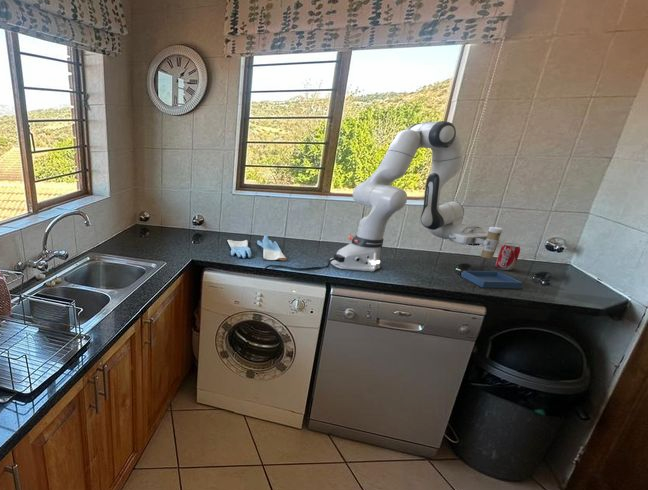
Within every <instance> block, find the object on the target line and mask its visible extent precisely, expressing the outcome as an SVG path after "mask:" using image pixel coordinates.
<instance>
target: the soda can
mask: <svg viewBox="0 0 648 490" xmlns="http://www.w3.org/2000/svg"><path fill="white" fill-rule="evenodd" d="M520 247H521V244H516V243H513V242H512V243H510V242H505V243H503V245H502V246H501V247H500V250H499V252H498V255H497V258H496V261H495V265H494V266H495V267H496V269H498V270H501V271H511V270H514V268H515V267H516V264H517V262H518V258H519V256H520V253H521V248H520Z"/></svg>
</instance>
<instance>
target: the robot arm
mask: <svg viewBox="0 0 648 490" xmlns="http://www.w3.org/2000/svg"><path fill="white" fill-rule="evenodd" d="M420 148H424V149H431V168H430V172H429V175H428V176H427V178H426V181H425V187H424V196H423V207H422V211H421V213H420V223H421V225H422V226H423V227H424V228H426V229H428V232H429V233H430V234H431V235H432V236H434V237H437V238H440V239H443V240H449V241H451V242H453V243H457V244H459V245H477V244H479V245H483V246H484V245H489V244H490V241H488V240H486V238H487V235H488V232H489V231H488V230H489V229H484V228H483V227H482V226H476V225H475V226H473V225H470V224H465V223H462V222H463V219H464V214H465V208H464V207H463V205H462V204H461V203H460V202H458V201H455V200H452V201H451V200H450V201H448V202H445V203H442V204H440V200H441V191H442V188H444V186H445V185H446V184H447V183H448V182H449V181H450V180H452V179H453V178H454V177H455V176H456V175H458V173H459V172H461V169H462V167H463V146H462V142H461V138H460V135H459V134H458V133H457V131H456V127H455V125H454V124H453V123H452V122H450V121H445V120H441V121H432V120H431V121H430V120H429V121H424V122H416V123H414V124H412V125H410V126H409V127H408V128H406V129H403V130H401V131H399V132H398V133H397V134H396V136H395V137H394V138H393V140H392V141H391V143H390V145H389V146H388V148H387V150H386V152H385V154H384V155H383V158H382V160H381V162H380V163H379V165H378V167H377V168H376V170H374V172H373V173H372V174H371V175H370V176H369V177H368V178H367V179H365V180H364V181H362V182H359V183H358V184H357V185H355V187H354V189H353V191H352V199H353V200H354V202H356V203H357V204H359V205H361V206H364V207H369V208H371V210H370V212H369V214H368V215H365V216H363V217H362V218H361V219H360V220H359V223H358V227H357V228H358V229H357V232H356V233H357V234H356V235H355V236H353V235H348V238H347V239H348V240H350V241H351V242H350V243H348V244H347V245H344V246H343V247H341V248H339V249H338V250H337V251H336V254H333V257H331V258H329V260H328V263H327V265H325V266H311V267H292V266H287V265H282V264H269V265H266V266H264V267H263V269H262V271H265V270H266V269H268V268H271V267H273V268H285V269H290V270H297V271H306V270H307V271H308V270H315V269H319V270H320V269H325V268H328V267H330V265H332V266H334V267H335V268H338V269H341V270H349V271H350V270H351V271H361V272H376V270H380V269H381V250H382V248H383V245H384V241H385V240H384V235H385V231H386V228H387V225H388V223H389V220H390V219H391V217H392V216H393V215H394V214H395V213H397V212H399V211H400V210H402V209H403V208H404V207H405V205H406V203H407V201H408V194H407V192H406V191H405V190H404V189H402V188H400V187H397V186H395V185H391V184H392V183H394V182H395V181H397V180H398V179H401V178H403V177H404V176H405V175H406V173H407V172H408V169H409V168H410V165H412V163H413V160H414V158H415V156H416V153H417V151H418V150H419V149H420ZM500 243H501V240H500V239H499V241H498V244H497V245H499V244H500Z"/></svg>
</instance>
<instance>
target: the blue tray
mask: <svg viewBox="0 0 648 490" xmlns="http://www.w3.org/2000/svg"><path fill="white" fill-rule="evenodd" d="M460 276H461V277H462V278H463V279H465V280H467V281H469V282H470V283H472V284H475V285H477V286H478V287H481V288H482V289H485V288H486V289H517V290H519V289H521V288H522V285H523V281H520V280H518V279H516V278H514V277H511V276H510V275H507V274H506V273H503V272H501V271H499V270H497V271H496V270H462V272H461V275H460Z"/></svg>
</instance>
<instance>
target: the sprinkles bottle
mask: <svg viewBox="0 0 648 490" xmlns="http://www.w3.org/2000/svg"><path fill="white" fill-rule="evenodd" d="M487 230H488V231H489V232H488V235H487V238H486V240H488V241H490V244H489V245H484V244H483V247H482V250H481V253H480V255H479V256H480V257H481V258H484V259H490V260H491V259H493V258H494V255H495V253H496V250H497V247H498V245H499V244H498V241H499V240H500V237H501V234H502V233H503V230H504V228H502V227H499V226H490V227H489V228H488V229H487Z"/></svg>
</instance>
